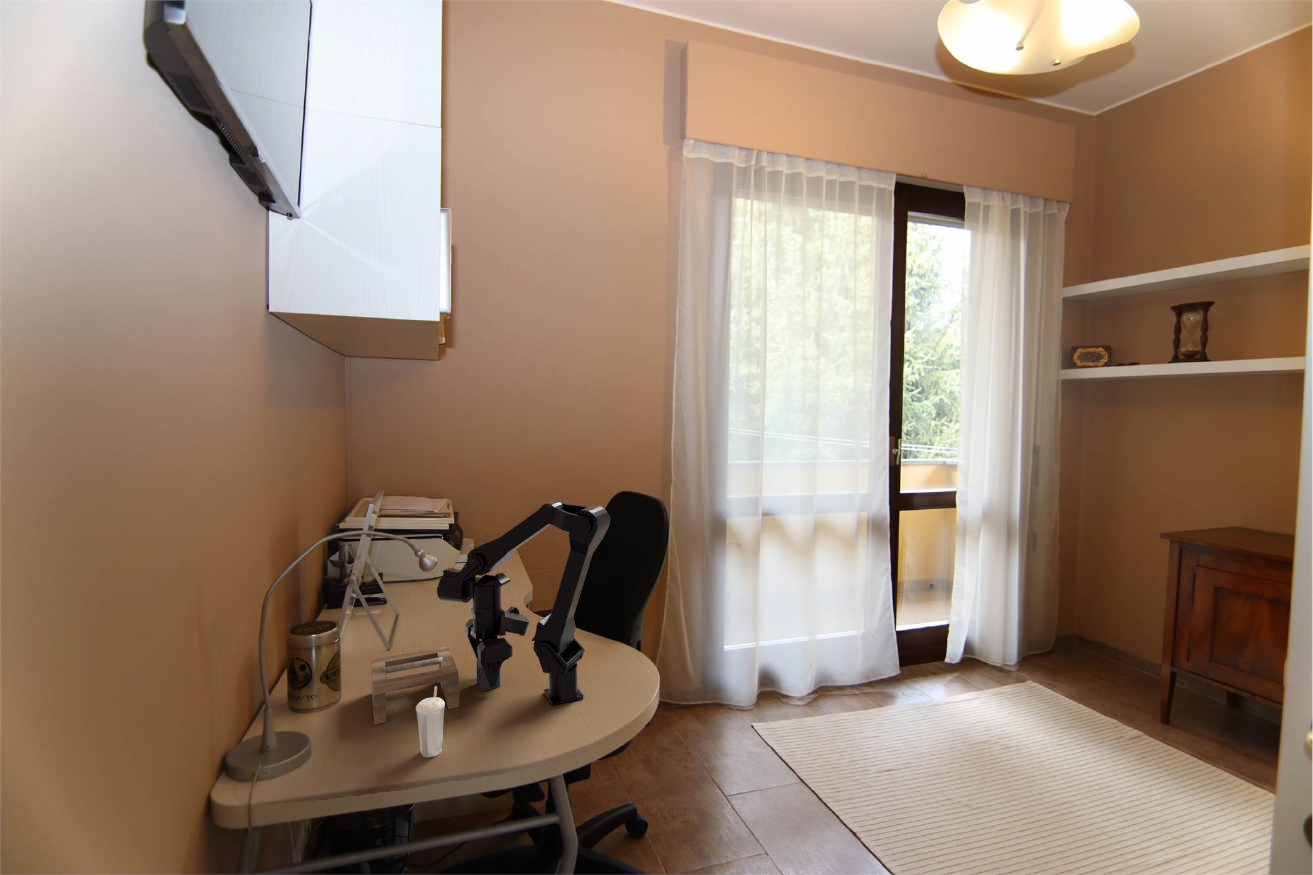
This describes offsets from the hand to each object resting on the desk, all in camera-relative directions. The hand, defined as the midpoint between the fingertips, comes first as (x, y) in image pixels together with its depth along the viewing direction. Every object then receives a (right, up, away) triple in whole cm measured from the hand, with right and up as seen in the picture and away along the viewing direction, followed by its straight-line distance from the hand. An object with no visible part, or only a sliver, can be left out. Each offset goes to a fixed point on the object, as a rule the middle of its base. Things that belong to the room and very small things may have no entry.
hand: (488, 677), depth 128 cm
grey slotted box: (0, -2, 0) cm, 2 cm away
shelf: (-13, -2, -6) cm, 15 cm away
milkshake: (-3, -3, -25) cm, 25 cm away
